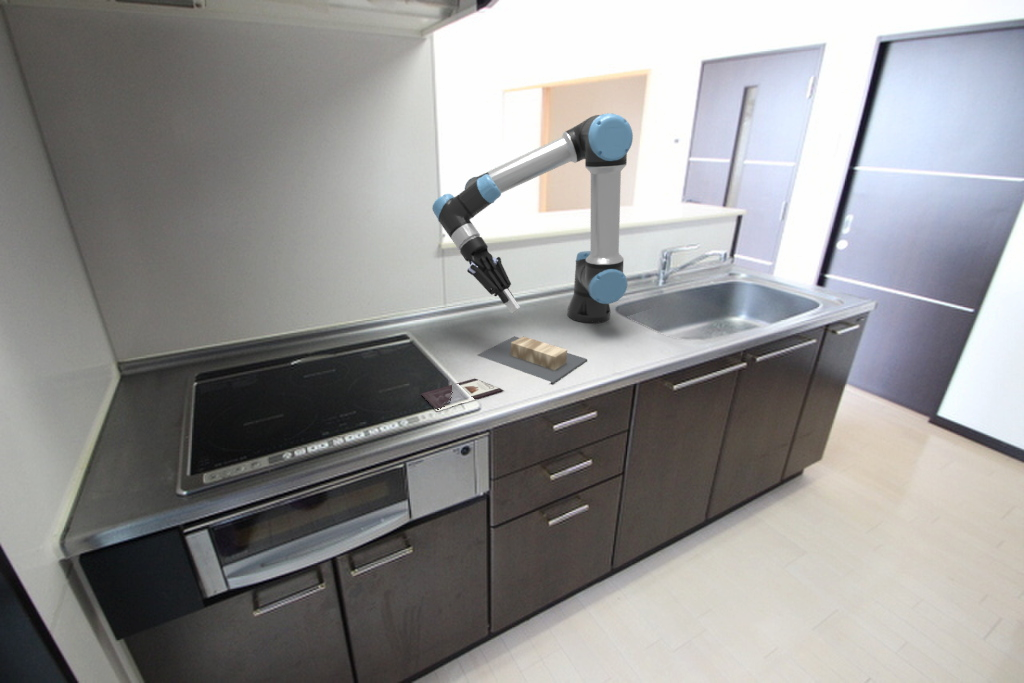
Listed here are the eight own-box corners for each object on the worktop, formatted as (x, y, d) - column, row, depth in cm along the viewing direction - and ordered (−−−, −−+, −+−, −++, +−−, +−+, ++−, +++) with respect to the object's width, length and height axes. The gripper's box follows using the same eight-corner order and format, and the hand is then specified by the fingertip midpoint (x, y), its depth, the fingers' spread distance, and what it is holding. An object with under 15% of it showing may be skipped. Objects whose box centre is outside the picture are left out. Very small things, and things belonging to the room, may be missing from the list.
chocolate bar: (420, 393, 116) (484, 375, 126) (420, 396, 117) (484, 378, 126) (436, 410, 110) (502, 390, 119) (436, 413, 110) (502, 393, 119)
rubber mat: (476, 356, 137) (476, 354, 137) (514, 337, 150) (514, 336, 150) (552, 384, 123) (553, 382, 123) (587, 360, 136) (587, 359, 136)
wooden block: (510, 342, 135) (555, 357, 127) (523, 336, 140) (567, 349, 132) (510, 355, 137) (554, 370, 129) (523, 348, 141) (566, 362, 133)
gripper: (478, 247, 144) (521, 311, 142) (447, 255, 135) (494, 323, 132) (491, 232, 139) (536, 297, 137) (461, 239, 130) (509, 309, 127)
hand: (515, 310), depth 135 cm, fingers closed
